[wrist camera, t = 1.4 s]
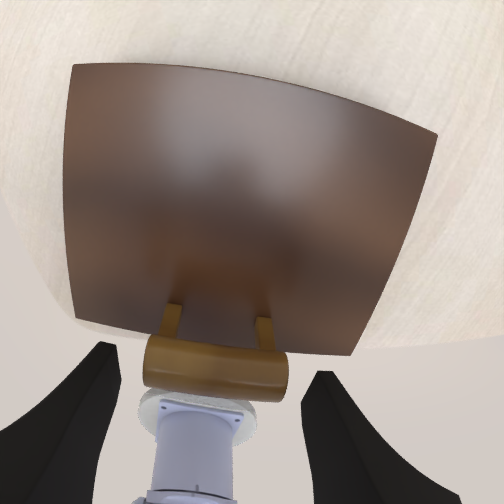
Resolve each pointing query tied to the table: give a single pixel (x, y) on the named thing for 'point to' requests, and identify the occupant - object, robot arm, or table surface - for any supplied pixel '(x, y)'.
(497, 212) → the table surface
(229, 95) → the box lid
